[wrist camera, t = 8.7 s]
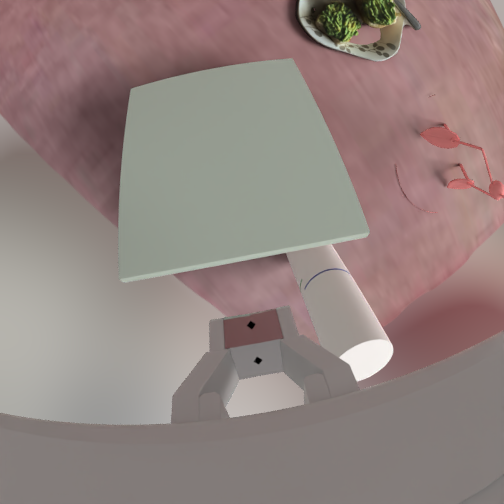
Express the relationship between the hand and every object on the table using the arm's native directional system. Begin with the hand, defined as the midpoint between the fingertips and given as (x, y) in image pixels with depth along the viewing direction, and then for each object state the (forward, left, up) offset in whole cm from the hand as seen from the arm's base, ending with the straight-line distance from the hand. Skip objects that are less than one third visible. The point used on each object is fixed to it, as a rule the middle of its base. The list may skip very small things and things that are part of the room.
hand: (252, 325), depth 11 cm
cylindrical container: (+18, +10, -34) cm, 40 cm away
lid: (-4, 0, -16) cm, 16 cm away
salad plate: (-20, +21, -35) cm, 45 cm away
